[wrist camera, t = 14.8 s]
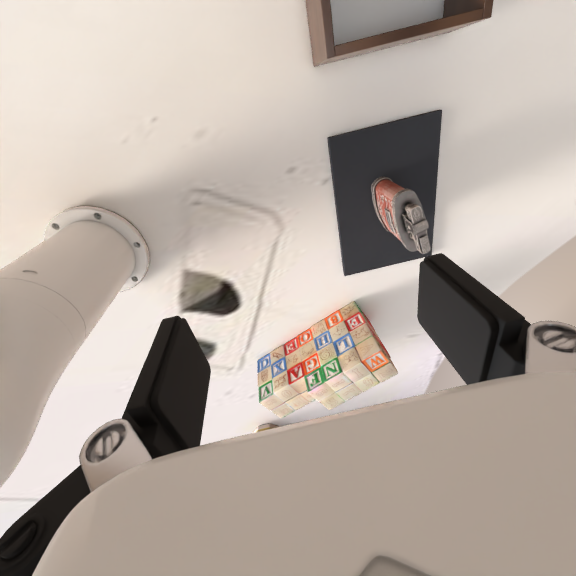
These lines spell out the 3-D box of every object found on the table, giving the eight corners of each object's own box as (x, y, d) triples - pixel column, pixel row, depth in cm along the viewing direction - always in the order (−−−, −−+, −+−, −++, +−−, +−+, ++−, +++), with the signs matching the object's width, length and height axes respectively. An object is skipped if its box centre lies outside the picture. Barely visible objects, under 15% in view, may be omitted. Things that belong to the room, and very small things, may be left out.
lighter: (366, 183, 39) (398, 206, 30) (390, 171, 38) (429, 190, 30) (383, 233, 43) (415, 265, 34) (404, 223, 42) (442, 252, 34)
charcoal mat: (343, 274, 47) (344, 276, 46) (327, 137, 36) (328, 138, 35) (429, 253, 46) (431, 255, 46) (439, 109, 35) (442, 109, 35)
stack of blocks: (276, 376, 58) (282, 436, 47) (256, 359, 55) (257, 419, 44) (370, 321, 53) (400, 374, 42) (354, 299, 49) (382, 351, 39)
